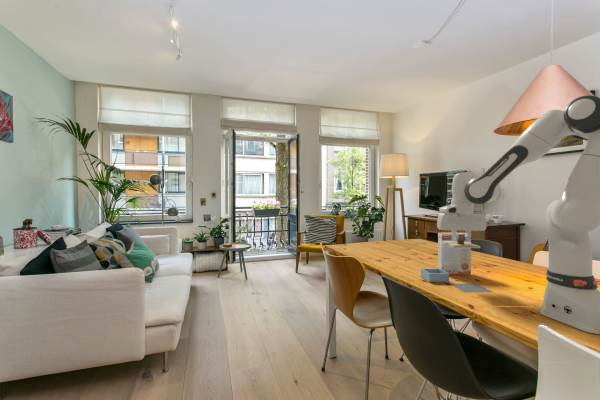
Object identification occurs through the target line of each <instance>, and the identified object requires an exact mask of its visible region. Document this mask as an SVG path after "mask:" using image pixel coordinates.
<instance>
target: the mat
mask: <svg viewBox="0 0 600 400" xmlns="http://www.w3.org/2000/svg"><path fill="white" fill-rule="evenodd" d="M450 285H451V286H452V287H454V288H456V289H458V290H459V291H462V292H463V293H467V294H468V293H493V291H492V290H490V289H488V288H486V287H484V286H482V285H480V284H478V283H476V282H475V283H450Z"/></svg>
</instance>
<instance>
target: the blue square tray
mask: <svg viewBox="0 0 600 400" xmlns="http://www.w3.org/2000/svg"><path fill="white" fill-rule="evenodd" d="M420 278H421V279H423V280H424V281H426V282H427V283H430V284H439V283H441V284H446V283H447V284H448V283H449V284H450V275H449V273H447V272H445V271H443V270H441V269H438V268H420Z"/></svg>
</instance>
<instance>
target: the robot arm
mask: <svg viewBox="0 0 600 400" xmlns="http://www.w3.org/2000/svg"><path fill="white" fill-rule="evenodd" d="M568 136H571V137H572V138H574V139H579V140H584V141H586V146H585V147H584V149H583V151H582V153H581V155H580V156H579V158H578V159H577V161H576V164H575V165H574V167H573V169H572V171H571V172H570V174H569V176H568V178H567V179H568V180H567V182H566V186H565V188H564V191H563V192H562V193H563V194H562V196H561V197H560V198H558V199H555V200H554V201H552V202H551V203H549V205H548V206H547V207H546V210H545V219H546V220H545V222H546V234H547V242H548V267H547V269H546V273H545V276H546V277H545V278H546V279H545V280H546V281H547V283H546V284H547V285H546V286H545V287H546V288H545V289H544V294H543V300H542V305H541V309H540V310H539V314H540V315H542V316H545V317H548V318H549V319H552V320H555V321H557V322H560V323H563V324H565V325H567V326H570V327H573V328H574V329H578V330H579V331H583V332H585V333H589V334H593V335H594V334H596V335H600V290H599V289H598V287H599V286H598V285H600V280H596V278H595V276H594V275H593V257H594V256H593V249H592V245H591V242H590V235H589V232H592V231H593V230H596V229H597V228H598V227H599V226H600V97H599V96H596V95H590V94H589V95H581V96H578V97H577V98H575V99H572V100H571V101H570V102H569V103H568V104H567V105H566V106H565V108H564V110H561V109H550V110H548V111H546V112H545V113H543V114H542V115H540V116H539V117H538V118H536V119H535V120H534V121H533V122H532V123H531V124H530V125H528V126H527V128H526V129H525V130H524V131H522V133H521V134H520V135H519V136H518V137H517V139H516V140H515V141H514V143H513V144H511V146H510V147H509V148H508V149H507V151H506V152H505V153H504V154H503V155H502V156H501V157H500V158H499V159H497V161H495V163H493V164H492V165H491V166H490V167H489V168H488V169H487V170H486V171H484V173H482V174H481V175H478V174H476V173H475V172H474V171H468V170H467V171H462V172H458V173H455V175H453V178H452V182H451V195H452V197H451V200H450V204H448V205H445V206H441V207H439V210H438V211H439V212H440V213H439V214H437V215H438V216H437V219H436V227H437V229H438V230H439V231H440V230H441V231H451V233H452V234H453V236H454V240H455V241H459V237H458V236H457V235H456V233H458V231H465V232H464V233H466V235H465V236H464V241H468V237H469V236H470V234H471V235H472V232H473V231H475V232H478V231H479V232H484V231H486V229H487V221H486V220H487V219H486V217H487V216H486V215H487V213H486V211H484V210H483V209H475V205H482V204H486V203H492V202H495V201H496V200H498V199H499V198H500V196H501V194H502V187H501V185H500V183H501V182H502V181H503V180H505V178H507V177H508V176H509V175H510V174H512V172H514V171H515V170H516V169H518V168H519V167H521V166H524V165H525V164H529V163H532V162H536V161H537V160H539V159H540V158H542V157H543V156H545V155H547V153H549V152H550V151H551V150H552V149H553V148H554V147H555V146H556V145H557V144H558V143H559V142H561V141H562V139H564V138H566V137H568Z"/></svg>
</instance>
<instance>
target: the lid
mask: <svg viewBox="0 0 600 400" xmlns="http://www.w3.org/2000/svg"><path fill="white" fill-rule="evenodd" d="M458 237H459V241H457V242H452V241H442V243H443V244H446V245H449V246H451V247H454V248H471V249H481V248H482V247H481V246H480V245H478V244H474V243H472V242H471V243H469V242H464V235H463V234H458Z"/></svg>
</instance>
